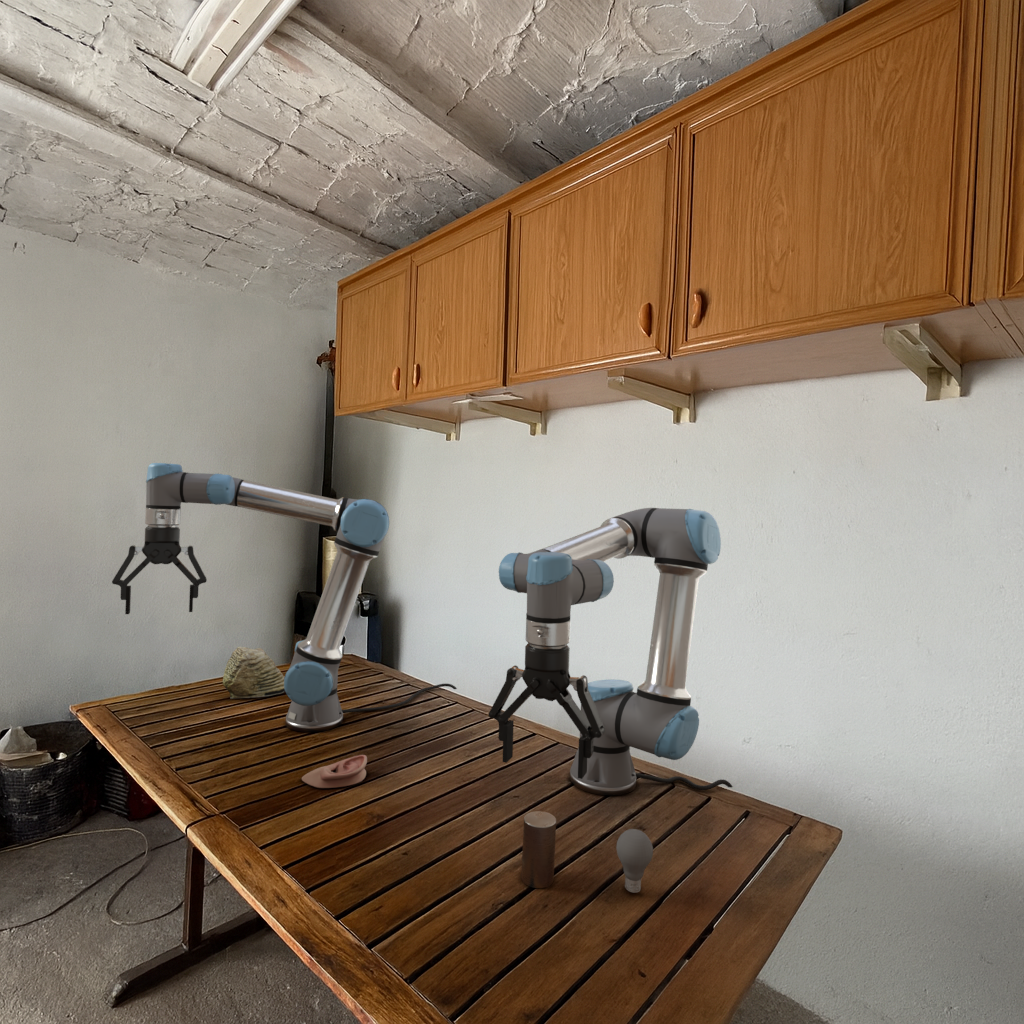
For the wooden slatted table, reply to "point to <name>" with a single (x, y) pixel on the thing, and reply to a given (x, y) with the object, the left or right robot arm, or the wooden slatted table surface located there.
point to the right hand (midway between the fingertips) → (544, 767)
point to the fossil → (252, 674)
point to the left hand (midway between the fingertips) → (159, 612)
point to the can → (538, 849)
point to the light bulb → (634, 857)
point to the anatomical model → (338, 773)
